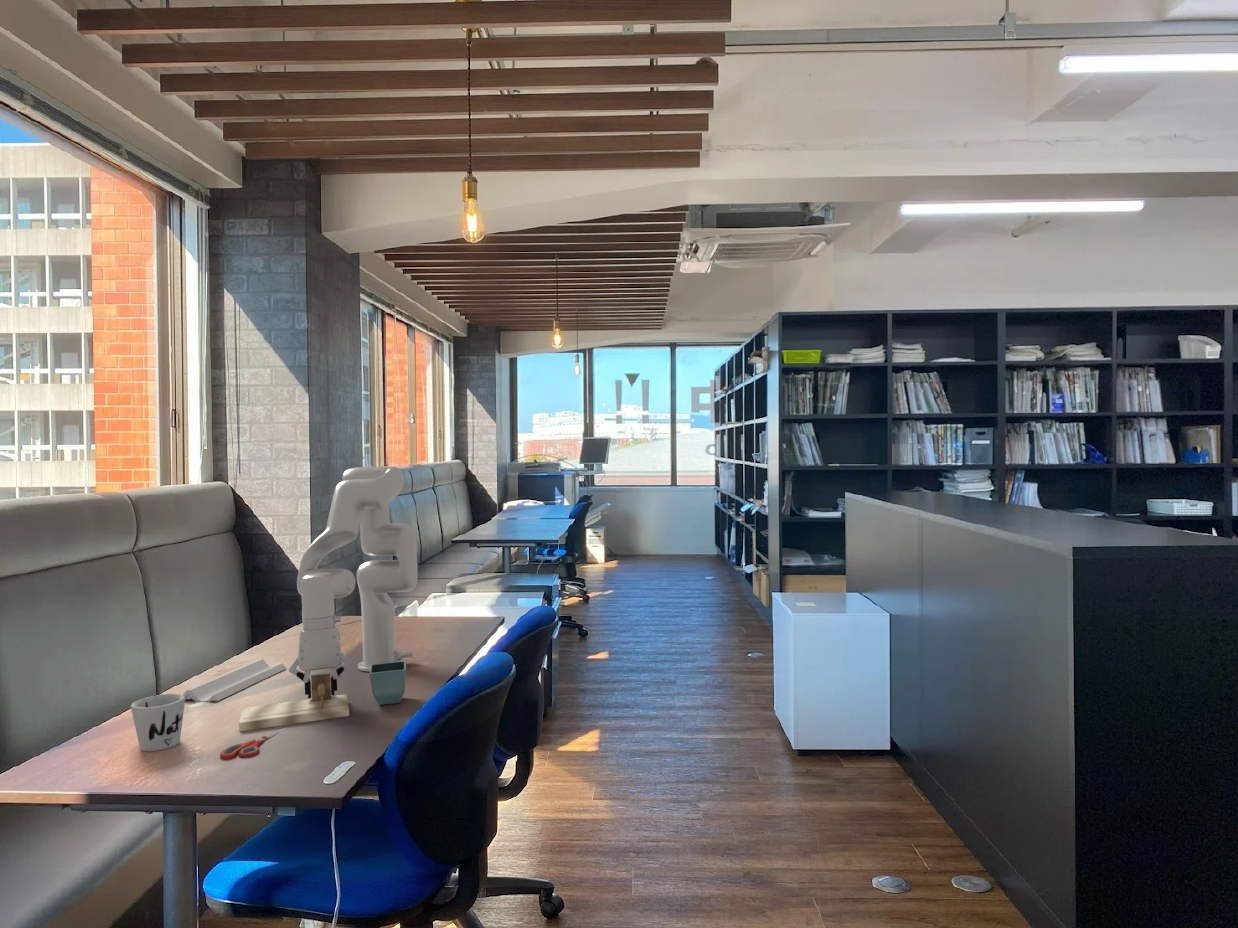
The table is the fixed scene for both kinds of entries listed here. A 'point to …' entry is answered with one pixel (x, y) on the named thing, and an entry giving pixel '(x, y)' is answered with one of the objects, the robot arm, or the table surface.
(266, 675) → the crown molding
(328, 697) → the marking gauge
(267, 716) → the maple board
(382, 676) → the flower pot
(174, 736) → the mug
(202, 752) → the table surface
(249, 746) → the scissors
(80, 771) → the table surface
